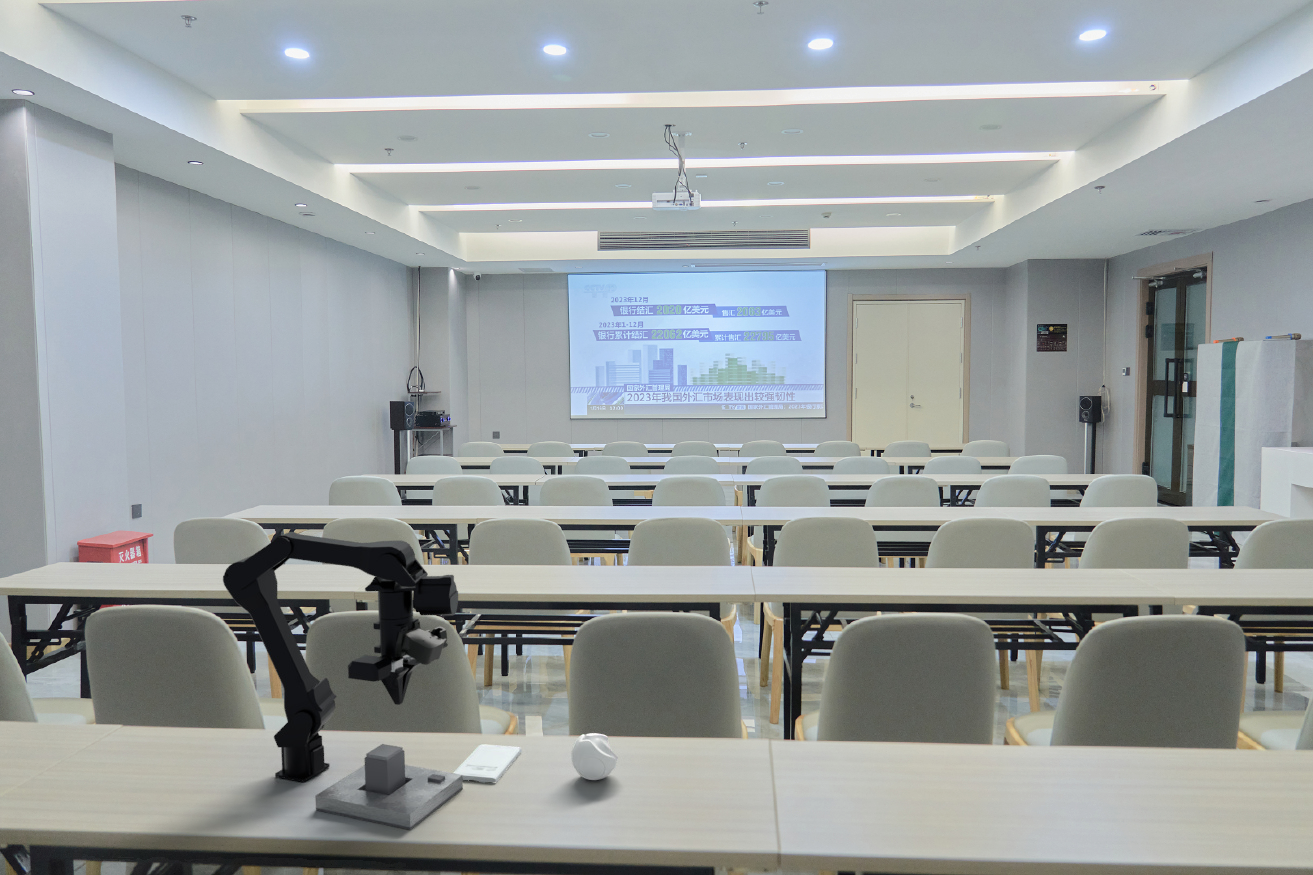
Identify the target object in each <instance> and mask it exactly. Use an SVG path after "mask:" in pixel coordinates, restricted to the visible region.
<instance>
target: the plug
mask: <svg viewBox="0 0 1313 875" xmlns="http://www.w3.org/2000/svg"><path fill="white" fill-rule="evenodd" d="M365 755H366V756H365V757H364V765H365V787H366V791H368V792H373V793H378V794H383V795H388V796H389V795H391V794H392V793H393V792H395V791H396V790H398V789H399V788H401V787H402V786H403V785H405V765H406V762H405V749H403V747H402V746H397V745H391V744H385V743H382V744H380V745H378V746H377V747H375V748H373V749H372V750H370V751H368V752H367V753H366V754H365Z"/></svg>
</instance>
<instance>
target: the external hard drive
mask: <svg viewBox="0 0 1313 875" xmlns="http://www.w3.org/2000/svg"><path fill="white" fill-rule="evenodd" d="M521 752H522V747H519V746H509V745H498V744H497V745H496V744H485V743H482V744H479V745H477V747H476V748H475V749H474V751H472V752H471V754H469V756H468V757H467V758H466V759H465V760H463V762H462V763H461V764H460V765H459V766H458V767H457V768H456V769H455V770H454V772H453V773H455V774H460V775H462V778H463V780H468V781H467V782H470V781H469V780H474V781H473V782H477V781H479V782H478V783H485V782H497V783H498V781H499V780H500V779H501V778H502V777H503V775H504V774H505V773H506V772H507V771H506V769H507V768H508V766H509V765H511V763H512V762H513V761H514V760H515V759H516V757H517V756H518V755H519V754H520V753H521ZM521 754H522V753H521ZM521 754H520V755H521ZM520 755H519V756H520ZM519 756H518V757H519ZM518 757H517V758H518ZM516 760H517V759H516ZM516 760H515V761H516ZM515 761H514V762H515ZM514 762H513V763H514ZM513 763H512V764H513ZM511 766H512V765H511ZM508 769H509V768H508ZM508 769H507V770H508ZM505 771H506V772H505ZM504 772H505V773H504ZM503 773H504V774H503ZM502 774H503V775H502ZM501 776H502V777H501ZM500 777H501V778H500ZM499 778H500V779H499ZM498 779H499V780H498Z"/></svg>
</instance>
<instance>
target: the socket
mask: <svg viewBox="0 0 1313 875" xmlns="http://www.w3.org/2000/svg"><path fill="white" fill-rule="evenodd" d="M463 784H464V783H463V778H462V775H460V774H455V773H454V772H448V771H443V770H437V769H432V768H431V769H430V768H425V767H420V766H414V765H408V764H405V785H403V786H402V787H401V788H399V789H398V790H396V791H395V792H393V793H392V794H391V795H389V796H388V795H383V794H378V793H373V792H368V791H366V787H365V764H364V765H362V766H360V767H359V768H357V769H356V770H354V771H352V772H351V773H350V774H347V775H346V776H344V777H343V778H341V779H340V780H338V781H337V782H335V783H333V784H331V785H329V787H327V788H325V789H324V790H322V791H320V792H319V793H317V794H315V797H314V798H315V810H316V812H317V811H318V812H323V813H328V814H331V815H332V814H333V815H337V816H342V817H347V818H350V819H351V818H352V819H356V820H361V821H365V822H370V823H376V824H379V825H386V826H390V827H394V828H399V829H404V830H409V831H412V829H414V828H415V827H416V826H417V825H419V824H420V823H421V822H422V821H424V820H425V819H426V818H428V817H429V816H430V815H431V814H433V813H434V812H435V811H437V810H438V809H440V807H441V806H443V805H445V803H447V802H448V801H450V799H451V798H453V797H454V796H456V795H457V794H458V793H460V792H461V791H462V790H463V789H464V785H463Z"/></svg>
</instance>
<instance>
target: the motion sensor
mask: <svg viewBox="0 0 1313 875" xmlns="http://www.w3.org/2000/svg"><path fill="white" fill-rule="evenodd" d="M618 759H619V756H618V755H616V753H615V752H614V751H613V750H612V748H611V745H610V743H609V737H608V736H607V735H605V734H603V733H602V734H601V733H595V732H593V733H592V732H591V733H586V734H581V735H579V737H577V739H576V740H575V742H574V745H573V747H572V750H571V763H572V767H573V768H574V770H575V771H576V773H577V774H578V775H579V776H580V777H582V778H584V779H586V780H589V781H597V780H603V779H605V778H606V777H609V775H611V773H612V772H614V770H615V768H616V766H617V763H618Z"/></svg>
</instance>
